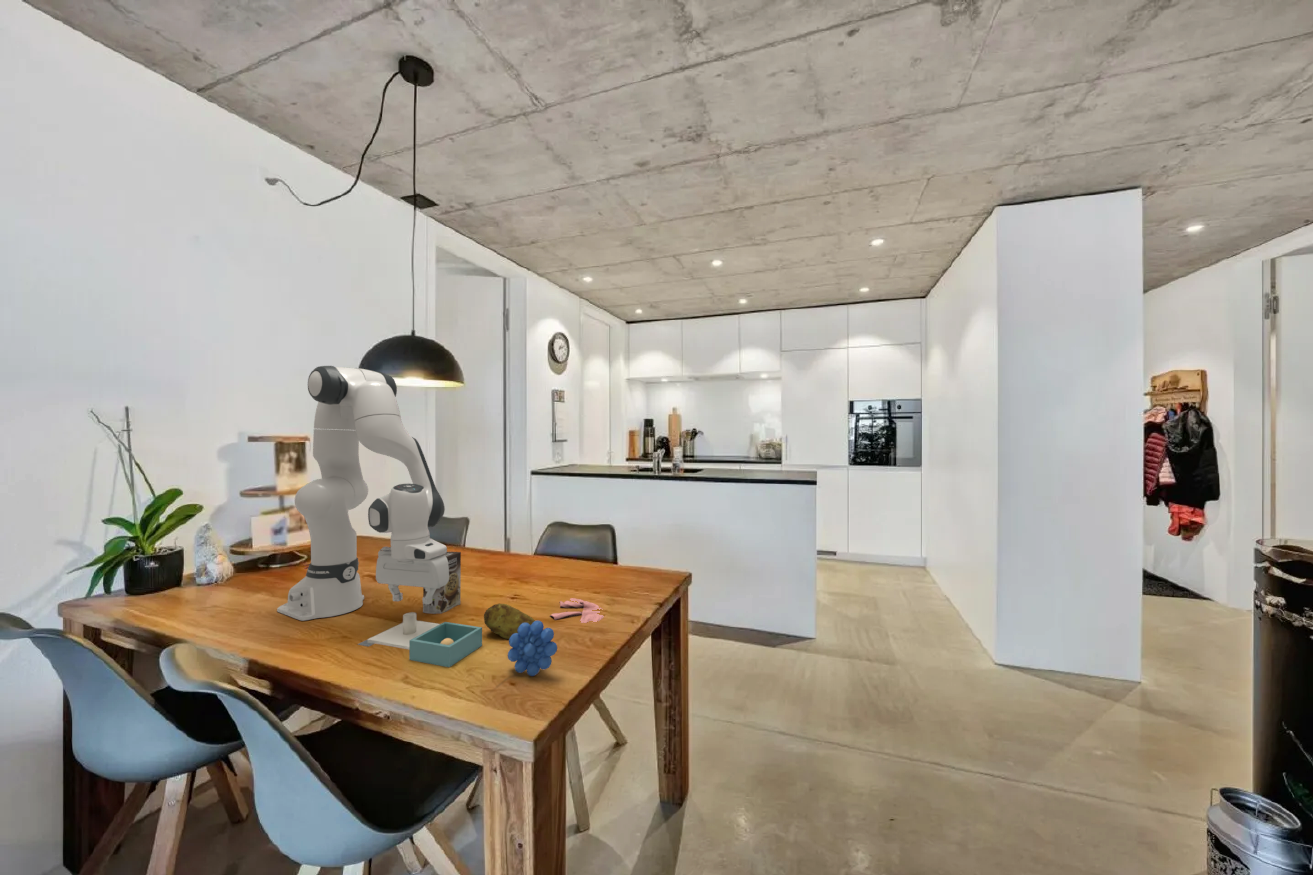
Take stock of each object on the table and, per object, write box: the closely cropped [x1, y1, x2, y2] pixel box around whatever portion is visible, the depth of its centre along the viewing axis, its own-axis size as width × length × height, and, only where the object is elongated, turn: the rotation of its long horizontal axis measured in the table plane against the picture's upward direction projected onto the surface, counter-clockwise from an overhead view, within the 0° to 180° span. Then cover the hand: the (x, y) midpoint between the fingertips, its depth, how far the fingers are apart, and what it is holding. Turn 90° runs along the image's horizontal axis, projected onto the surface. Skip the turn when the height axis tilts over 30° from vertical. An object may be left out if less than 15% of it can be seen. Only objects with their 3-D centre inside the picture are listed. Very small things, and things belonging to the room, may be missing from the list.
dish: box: [408, 621, 483, 668], centre depth 109 cm, size 11×11×5 cm
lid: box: [366, 611, 441, 650], centre depth 118 cm, size 13×13×5 cm
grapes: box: [507, 619, 558, 677], centre depth 101 cm, size 12×7×12 cm, turn 75°
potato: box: [483, 603, 536, 640], centre depth 119 cm, size 8×13×8 cm, turn 68°
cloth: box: [549, 597, 604, 624], centre depth 137 cm, size 20×22×2 cm
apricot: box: [440, 638, 454, 645], centre depth 109 cm, size 3×3×3 cm
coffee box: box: [422, 551, 462, 615], centre depth 137 cm, size 9×6×16 cm
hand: (412, 602), depth 118 cm, fingers open, 8 cm apart
